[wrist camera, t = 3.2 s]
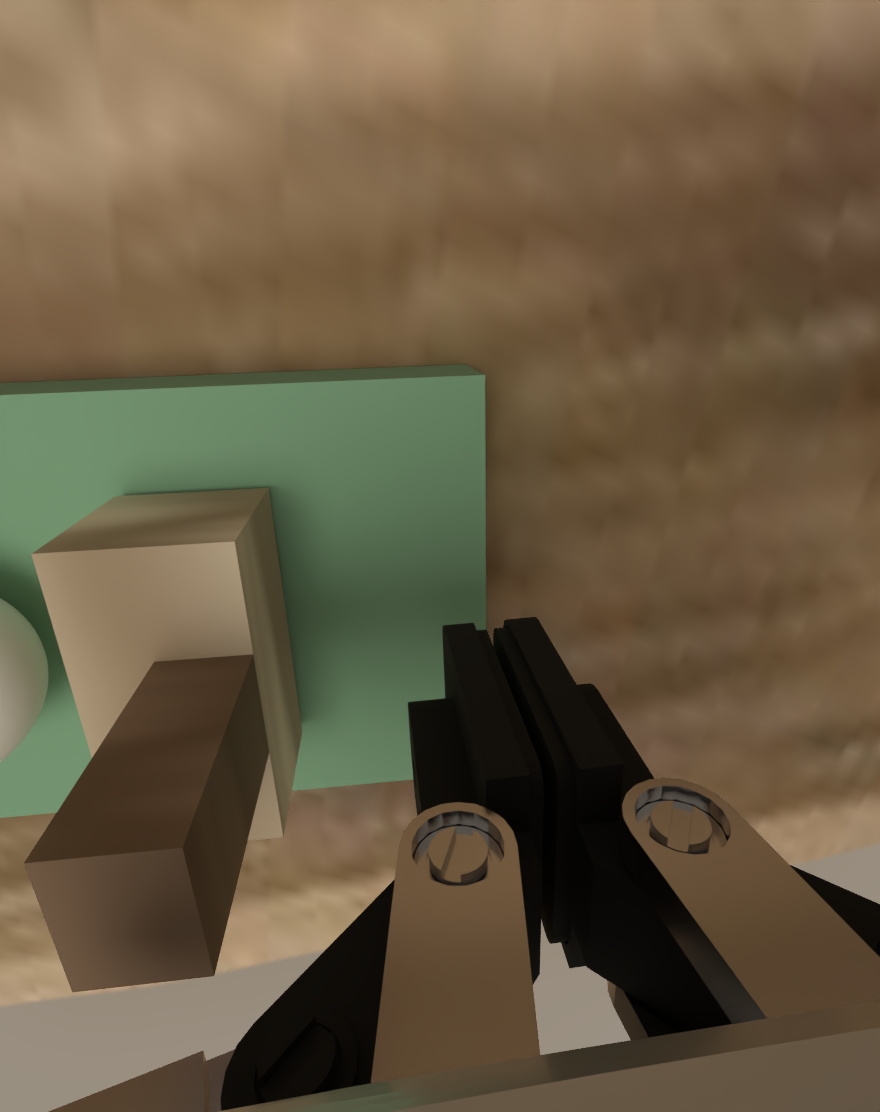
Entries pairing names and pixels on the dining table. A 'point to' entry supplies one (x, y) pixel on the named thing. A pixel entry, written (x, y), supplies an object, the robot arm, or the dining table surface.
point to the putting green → (300, 529)
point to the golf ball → (19, 678)
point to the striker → (165, 729)
